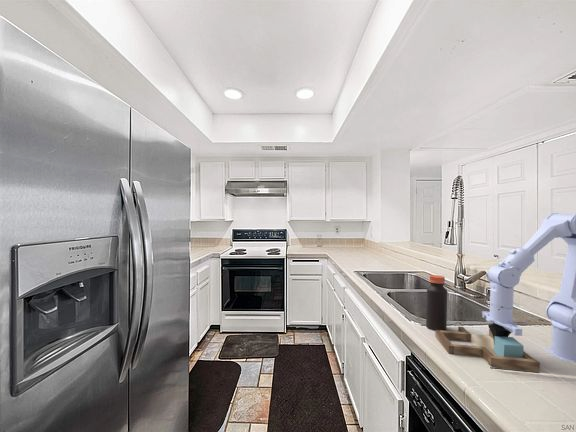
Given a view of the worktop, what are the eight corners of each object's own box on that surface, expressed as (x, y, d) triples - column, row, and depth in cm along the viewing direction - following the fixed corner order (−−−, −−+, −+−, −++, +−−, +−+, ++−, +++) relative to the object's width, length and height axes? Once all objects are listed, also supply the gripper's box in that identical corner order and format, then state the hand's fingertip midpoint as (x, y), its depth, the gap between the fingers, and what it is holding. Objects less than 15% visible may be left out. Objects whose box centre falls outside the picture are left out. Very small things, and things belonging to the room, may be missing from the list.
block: (511, 352, 87) (512, 337, 86) (522, 362, 82) (523, 345, 81) (493, 351, 87) (494, 336, 87) (503, 361, 82) (504, 344, 82)
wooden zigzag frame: (494, 337, 100) (494, 329, 100) (539, 373, 77) (539, 362, 77) (430, 332, 103) (430, 324, 103) (456, 365, 81) (456, 354, 81)
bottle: (448, 329, 106) (449, 276, 106) (443, 334, 101) (444, 279, 101) (429, 324, 111) (430, 273, 111) (423, 329, 106) (424, 276, 106)
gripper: (473, 297, 95) (472, 337, 95) (505, 313, 80) (503, 360, 81) (495, 298, 95) (493, 338, 95) (530, 314, 80) (528, 361, 80)
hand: (499, 348), depth 88 cm, fingers closed, pressing on block
